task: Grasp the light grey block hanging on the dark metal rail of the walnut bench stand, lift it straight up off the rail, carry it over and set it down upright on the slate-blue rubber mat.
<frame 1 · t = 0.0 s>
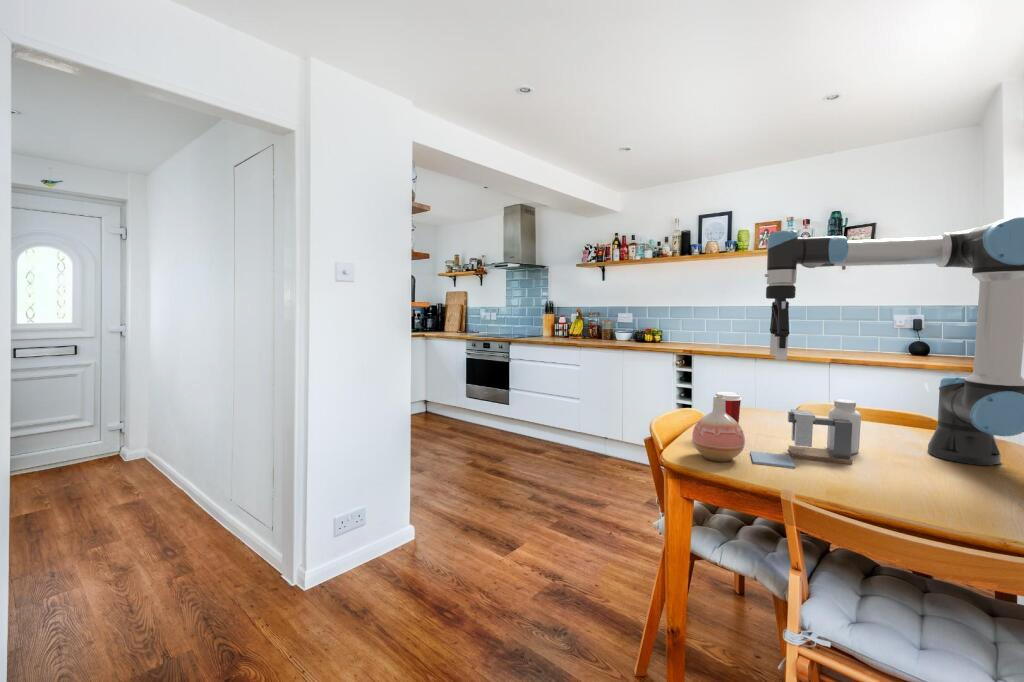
hand: (777, 357, 140), 28 cm above the table, fingers open, 13 cm apart
light grey block: (801, 442, 138), point 3 cm above the table, touching hook stand
hook stand: (818, 456, 137), on the table
coffee cup: (726, 440, 154), on the table
vase: (717, 459, 135), on the table
pill bottle: (842, 450, 143), on the table
mat: (771, 460, 133), on the table
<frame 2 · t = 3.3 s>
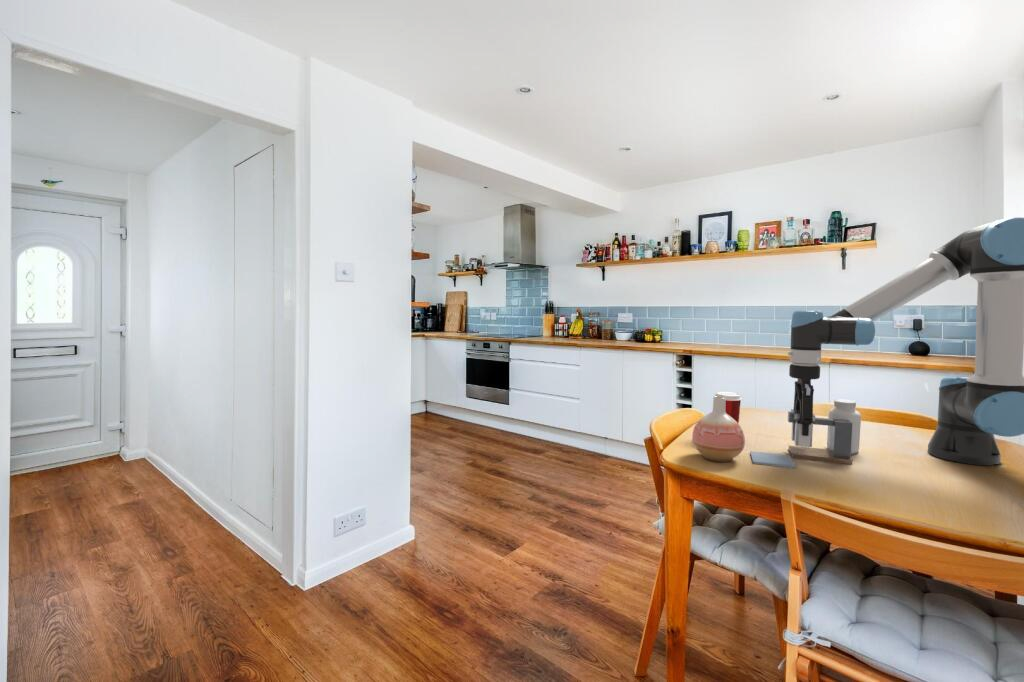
hand: (801, 442, 138), 4 cm above the table, fingers closed on light grey block, 7 cm apart
light grey block: (801, 442, 138), point 3 cm above the table, touching gripper, hook stand
everything else where it was.
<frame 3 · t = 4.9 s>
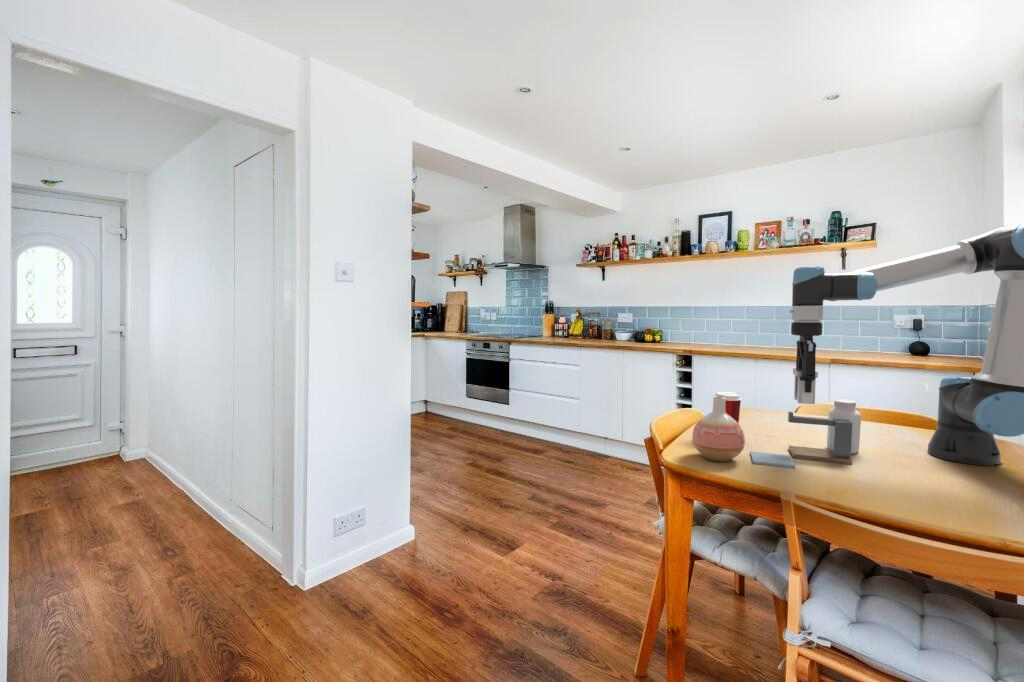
hand: (804, 400, 137), 16 cm above the table, fingers closed on light grey block, 7 cm apart
light grey block: (804, 401, 137), point 16 cm above the table, touching gripper
everything else where it was.
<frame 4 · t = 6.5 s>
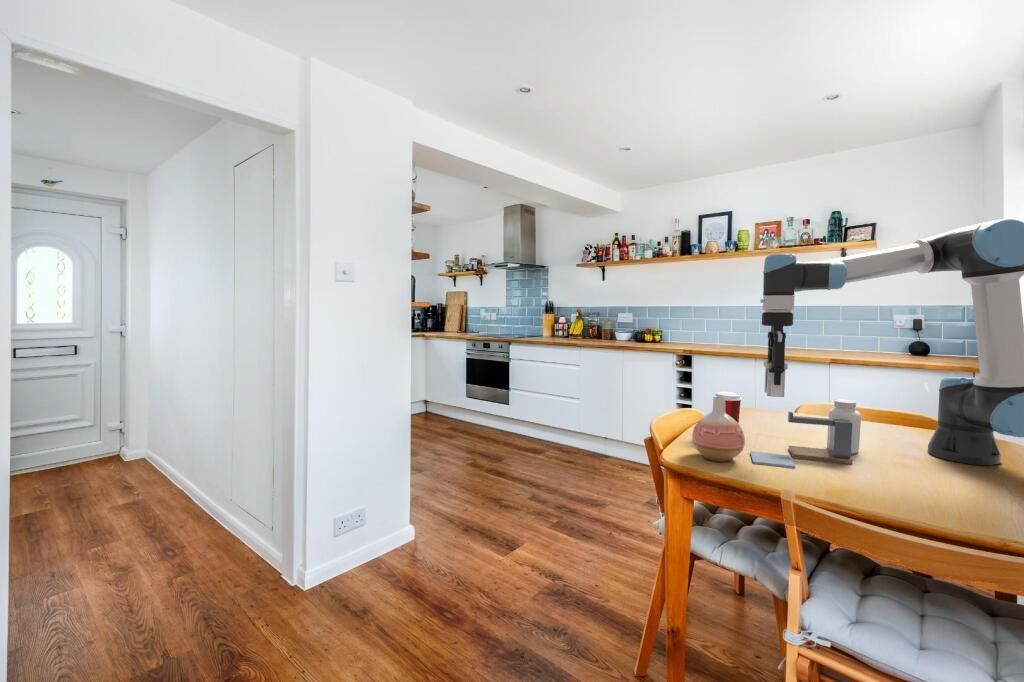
hand: (774, 394, 132), 19 cm above the table, fingers closed on light grey block, 7 cm apart
light grey block: (774, 394, 132), point 19 cm above the table, touching gripper
everything else where it was.
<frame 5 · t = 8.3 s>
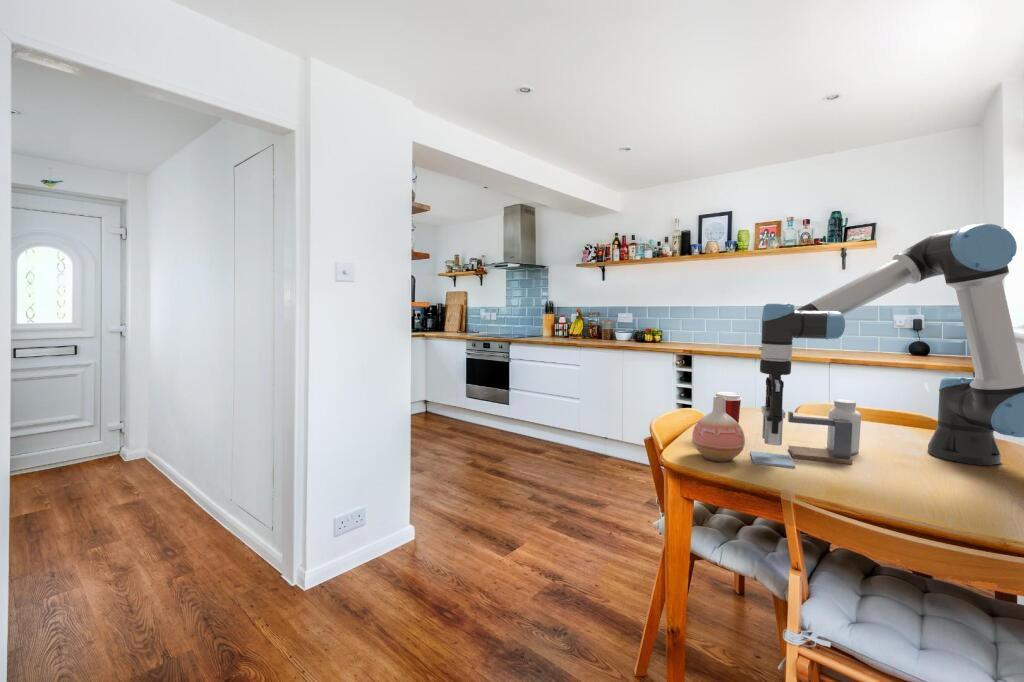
hand: (771, 440, 133), 6 cm above the table, fingers closed on light grey block, 7 cm apart
light grey block: (771, 441, 133), point 5 cm above the table, touching gripper
everything else where it was.
when the fingers open (2 cm above the table, at t = 9.7 s): light grey block drops 2 cm, resting on mat.
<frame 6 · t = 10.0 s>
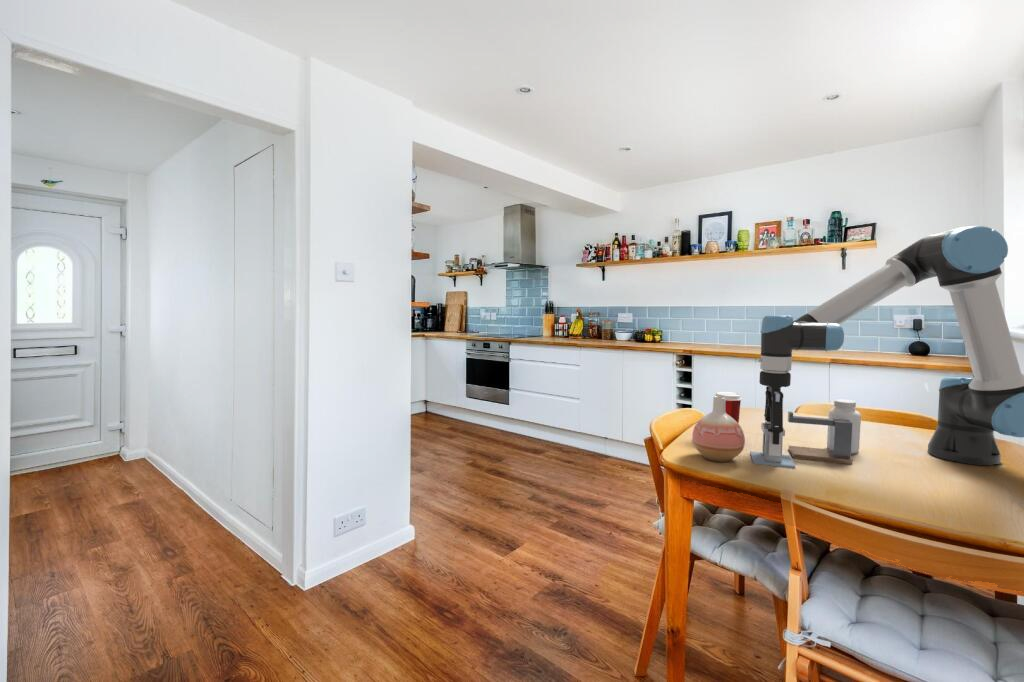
hand: (771, 449, 133), 3 cm above the table, fingers open, 10 cm apart
light grey block: (771, 458, 133), point 1 cm above the table, touching mat
everything else where it was.
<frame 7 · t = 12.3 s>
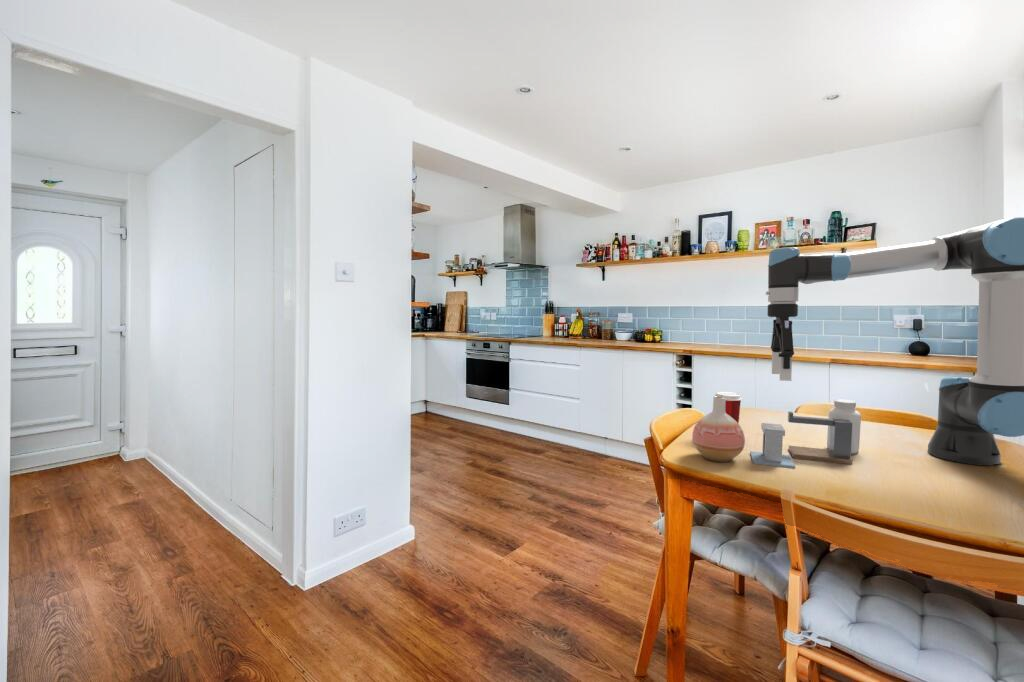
hand: (780, 377, 137), 23 cm above the table, fingers open, 13 cm apart
nothing on the table moved.
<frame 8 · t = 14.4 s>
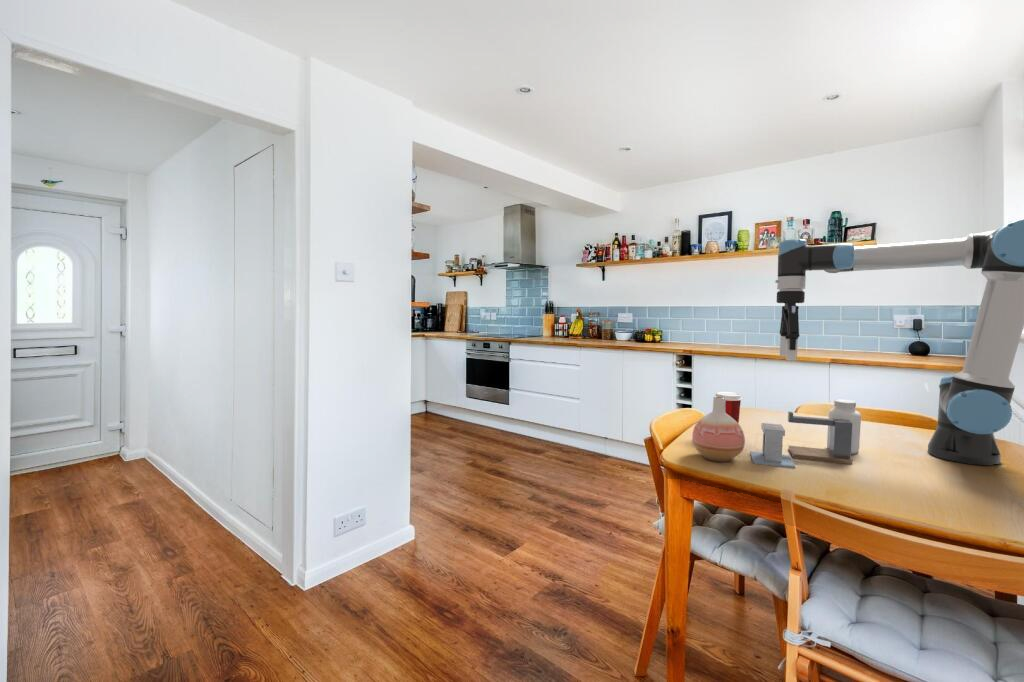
hand: (787, 358, 149), 27 cm above the table, fingers open, 13 cm apart
nothing on the table moved.
at the end: light grey block 0.0 cm from the mat (horizontally); light grey block tilted 0°; light grey block point 0.6 cm above the table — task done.
